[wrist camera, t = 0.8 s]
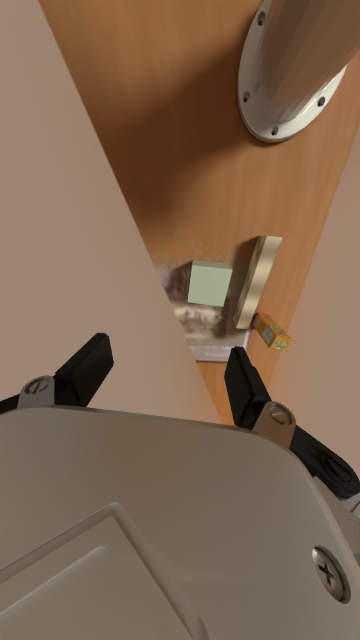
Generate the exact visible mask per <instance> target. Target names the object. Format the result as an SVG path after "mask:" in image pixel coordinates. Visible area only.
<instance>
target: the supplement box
mask: <svg viewBox="0 0 360 640" xmlns="http://www.w3.org/2000/svg"><path fill="white" fill-rule="evenodd" d="M252 324H253V325H254V327H255V328H256V330H257V331H258V333H259V334H260V336H261V337H262V339H263V340H264V342H265V343H266V345H267V346H268V348H269V349H275V350H279V351H281V352H285V351H286V349H287V348H288V346H289V345H290V343H291V342H292V339H291V338H290V337H289V336H288V335H287V333H286V332H285V331H284V330H283V329H282V328H281V327H280V326H279V325H278V324H277V323H276V322H275V321H274V320H273V319H272V318H271V316H269V315H265V314H261V313H258V314H257V315H256V317H255V319H254V321H253V323H252Z"/></svg>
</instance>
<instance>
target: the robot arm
mask: <svg viewBox="0 0 360 640" xmlns="http://www.w3.org/2000/svg"><path fill="white" fill-rule="evenodd" d="M259 25H260V26H259ZM359 50H360V0H263V2H262V4H261V5H260V7H259V8H258V11H257V13H256V15H255V17H254V19H253V21H252V23H251V26H250V28H249V31H248V34H247V37H246V40H245V43H244V47H243V51H242V55H241V59H240V65H239V71H238V80H237V97H238V106H239V110H240V114H241V117H242V120H243V122H244V124H245V126H246V127H247V129H248V130H249V132H250V133H251V134H252V135H253V136H255V137H256V138H257V139H259V140H261V141H264V142H270V143H275V142H282V141H284V140H287V139H290V138H292V137H293V136H295V135H297V134H298V133H300V132H301V131H302V130H303V129H305V128H306V127H307V126H308V125H309V124H310V123H311V122H312V121H313V120H314V119H315V118H316V117H317V116H318V115H319V114H320V113H321V111H322V110H323V109H324V108H325V107H326V105H327V104H328V102H329V101H330V99H331V97H332V96H333V94H334V93H335V91H336V89H337V87H338V85H339V83H340V81H341V79H342V77H343V75H344V73H345V70H346V67H347V65H348V63H349V62H350V60H351V59H352V58H353V57H354V56H355V55H356V54H357V52H358V51H359ZM243 100H246V102H244V101H243ZM272 132H273V133H274V136H273V135H272V134H271V133H272ZM113 363H114V361H113V356H112V351H111V345H110V340H109V336H107V335H106V334H105V333H97V334H96V335H94V336H93V337H92V338H91V339H90V340H89V341H88V342H87V343H86V344H85V345H84V346H83V347H82V348H81V349H80V350H79V351H78V352H76V353H75V354H74V355H73V356H72V357H71V358H70V359H69V360H68V361H67V362H66V363H65V364H64V365H63V366H62V367H61V368H60V369H58V371H56V373H55V375H54V376H53V377H52V376H41V377H38V378H35V379H33V380H31V381H30V382H28V383H27V384H26V385H25V386H24V387H23V388H22V390H21V392H20V394H18V395H15V396H13V397H10V398H8V399H5V400H2V401H0V640H360V481H359V479H358V477H357V475H356V473H355V472H354V471H353V469H352V468H351V467H350V466H349V465H348V464H347V462H345V461H344V460H343V459H342V458H341V457H339V456H338V455H337V454H335V453H334V452H333V451H331V450H330V449H329V448H327V447H326V446H325V445H323V444H322V443H320V442H319V441H318V440H316V439H315V438H314V437H312V436H311V435H310V434H308V433H307V432H306V431H304V430H303V429H301V428H300V427H299V426H297V425H296V420H295V417H294V415H293V414H292V412H291V411H290V410H289V409H288V408H287V407H285V406H284V405H282V404H281V403H279V402H275V401H272V400H271V398H270V396H269V394H268V392H267V390H266V388H265V386H264V384H263V382H262V380H261V377H260V375H259V373H258V371H257V369H256V368H255V367H254V366H252V364H251V362H250V360H249V358H248V356H247V354H246V351H245V349H244V347H237V346H235V347H234V348H232V349H231V353H230V356H229V360H228V363H227V367H226V371H225V375H224V378H225V383H226V388H227V392H228V397H229V401H230V406H231V410H232V415H233V419H234V424H235V426H238V427H235V426H230V425H223V424H216V423H209V422H202V421H194V420H186V419H178V418H171V417H162V416H154V415H147V414H138V413H130V412H122V411H113V410H104V409H96V408H88V407H86V406H87V405H88V404H89V402H90V400H91V399H92V398H93V396H94V394H95V393H96V391H97V390H98V388H99V387H100V385H101V384H102V382H103V381H104V379H105V378H106V376H107V374H108V373H109V371H110V370H111V368H112V367H113ZM346 540H347V541H346ZM347 542H348V543H347ZM348 544H349V545H348ZM349 546H350V547H349ZM350 548H351V549H350ZM351 550H352V551H351ZM352 552H353V553H352Z"/></svg>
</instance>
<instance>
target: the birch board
mask: <svg viewBox="0 0 360 640" xmlns="http://www.w3.org/2000/svg"><path fill="white" fill-rule="evenodd" d="M281 241H282V237H272V236H258V239H257V242H256V245H255V249H254V252H253V255H252V258H251V262H250V265H249V268H248V271H247V275H246V278H245V281H244V284H243V288H242V291H241V294H240V297H239V301H238V304H237V307H236V311H235V314H234V317H233V321H234V323H235V326H236V328H240V329H248V328H249V325H250V322H251V320H252V317H253V314H254V312H255V309H256V307H257V304H258V301H259V299H260V296H261V293H262V291H263V288H264V285H265V283H266V280H267V278H268V275H269V272H270V270H271V267H272V264H273V262H274V259H275V256H276V254H277V251H278V249H279V246H280V243H281Z"/></svg>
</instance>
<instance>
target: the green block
mask: <svg viewBox="0 0 360 640" xmlns="http://www.w3.org/2000/svg"><path fill="white" fill-rule="evenodd" d="M231 274H232V269H231V267H230V266H229V265H228V264H224V263H215V262H206V261H197V260H193V263H192V270H191V279H190V287H189V295H188V302H191V303H199V304H207V305H215V306H223V305H224V301H225V298H226V294H227V290H228V286H229V282H230V278H231Z"/></svg>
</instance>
